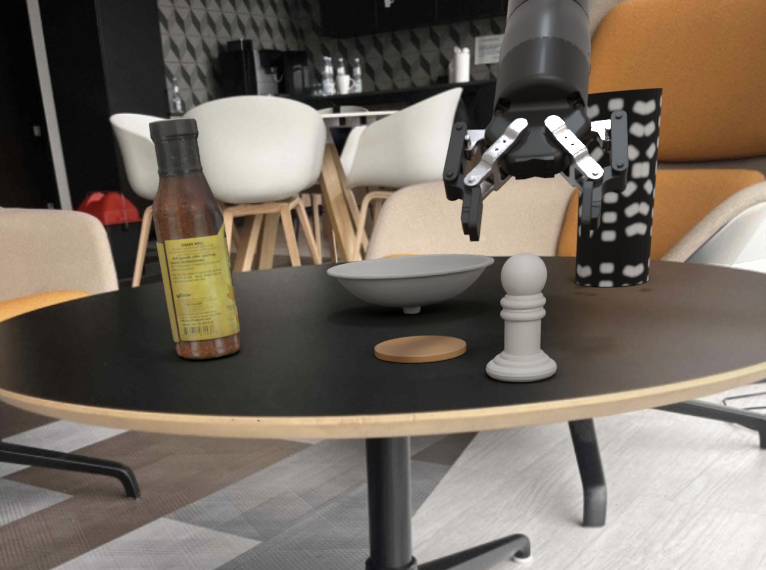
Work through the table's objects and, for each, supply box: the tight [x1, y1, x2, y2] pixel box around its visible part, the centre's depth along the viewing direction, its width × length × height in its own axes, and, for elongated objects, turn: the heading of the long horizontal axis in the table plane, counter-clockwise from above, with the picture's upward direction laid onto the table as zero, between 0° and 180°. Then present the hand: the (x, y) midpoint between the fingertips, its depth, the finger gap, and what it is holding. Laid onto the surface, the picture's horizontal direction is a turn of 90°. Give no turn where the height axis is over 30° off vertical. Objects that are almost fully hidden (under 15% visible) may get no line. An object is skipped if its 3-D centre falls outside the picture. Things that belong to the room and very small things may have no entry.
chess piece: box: [485, 252, 558, 383], centre depth 65 cm, size 5×5×9 cm
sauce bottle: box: [148, 117, 241, 361], centre depth 77 cm, size 6×6×20 cm
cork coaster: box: [374, 335, 467, 364], centre depth 76 cm, size 8×8×1 cm
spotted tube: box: [574, 87, 664, 288], centre depth 99 cm, size 8×8×20 cm
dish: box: [326, 253, 495, 315], centre depth 92 cm, size 18×14×5 cm
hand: (528, 233), depth 68 cm, fingers open, 8 cm apart
